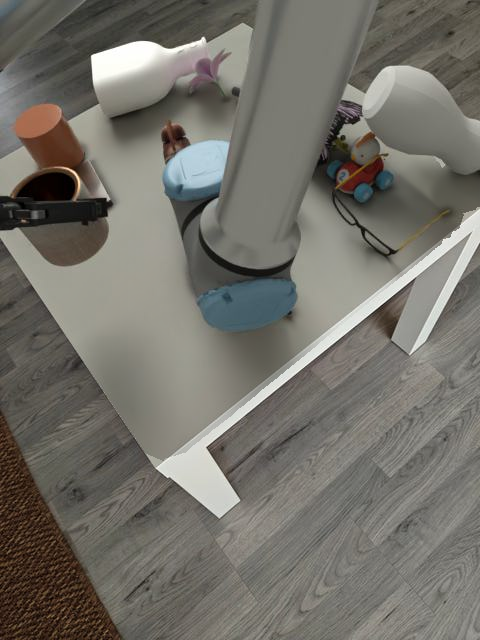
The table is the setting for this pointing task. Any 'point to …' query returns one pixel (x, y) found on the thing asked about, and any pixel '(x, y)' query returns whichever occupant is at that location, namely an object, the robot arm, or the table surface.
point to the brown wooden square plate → (92, 181)
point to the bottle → (141, 73)
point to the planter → (64, 238)
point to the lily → (207, 71)
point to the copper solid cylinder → (49, 137)
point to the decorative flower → (344, 115)
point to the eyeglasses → (362, 228)
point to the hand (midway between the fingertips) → (70, 206)
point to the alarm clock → (173, 140)
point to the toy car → (374, 172)
